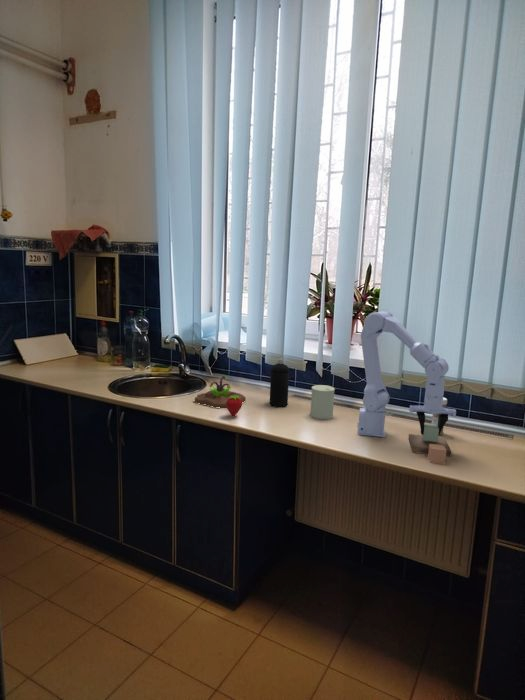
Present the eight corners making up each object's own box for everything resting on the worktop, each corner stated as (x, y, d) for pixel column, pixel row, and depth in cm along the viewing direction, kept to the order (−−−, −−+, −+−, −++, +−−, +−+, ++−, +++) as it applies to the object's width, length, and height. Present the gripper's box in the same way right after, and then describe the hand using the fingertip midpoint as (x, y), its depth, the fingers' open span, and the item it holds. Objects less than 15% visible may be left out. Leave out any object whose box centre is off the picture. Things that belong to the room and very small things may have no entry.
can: (321, 421, 184) (323, 391, 182) (305, 414, 191) (306, 385, 189) (337, 416, 190) (339, 387, 188) (321, 410, 197) (322, 382, 195)
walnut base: (411, 452, 157) (412, 446, 156) (408, 439, 168) (408, 433, 168) (450, 456, 154) (451, 450, 154) (444, 443, 166) (444, 437, 165)
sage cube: (423, 440, 159) (424, 427, 158) (421, 435, 163) (423, 423, 162) (437, 441, 158) (439, 429, 157) (435, 437, 162) (436, 424, 161)
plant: (253, 401, 208) (254, 376, 206) (225, 411, 192) (225, 384, 190) (217, 393, 219) (218, 369, 217) (188, 402, 203) (188, 376, 201)
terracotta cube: (429, 462, 149) (431, 448, 148) (427, 456, 154) (429, 443, 153) (444, 464, 148) (446, 450, 148) (442, 458, 153) (444, 445, 152)
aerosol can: (287, 408, 198) (289, 361, 195) (267, 406, 200) (269, 360, 196) (289, 402, 206) (291, 357, 203) (270, 401, 208) (272, 356, 204)
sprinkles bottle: (428, 430, 178) (431, 396, 175) (439, 430, 178) (443, 396, 176) (433, 435, 173) (437, 399, 171) (445, 435, 174) (449, 399, 171)
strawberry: (245, 415, 187) (246, 390, 186) (235, 420, 181) (236, 395, 179) (232, 412, 190) (232, 388, 188) (222, 417, 183) (222, 392, 182)
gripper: (412, 396, 155) (408, 436, 158) (459, 400, 153) (454, 440, 155) (410, 391, 162) (406, 429, 165) (455, 394, 159) (451, 433, 162)
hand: (429, 434), depth 160 cm, fingers closed on sage cube, 4 cm apart
